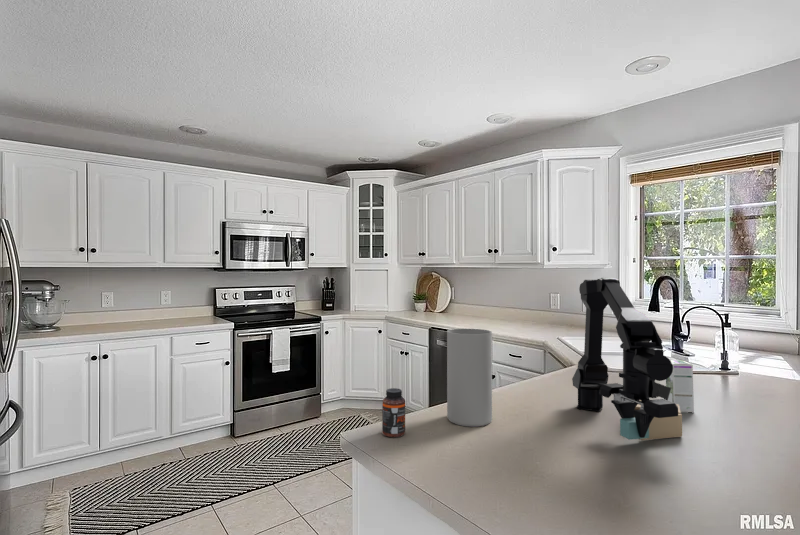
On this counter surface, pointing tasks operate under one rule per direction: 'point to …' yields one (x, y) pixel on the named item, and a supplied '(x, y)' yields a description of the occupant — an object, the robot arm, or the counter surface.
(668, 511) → the counter surface
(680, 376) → the syrup box
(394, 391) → the supplement bottle
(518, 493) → the counter surface
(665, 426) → the carton flap
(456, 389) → the cylinder vase
